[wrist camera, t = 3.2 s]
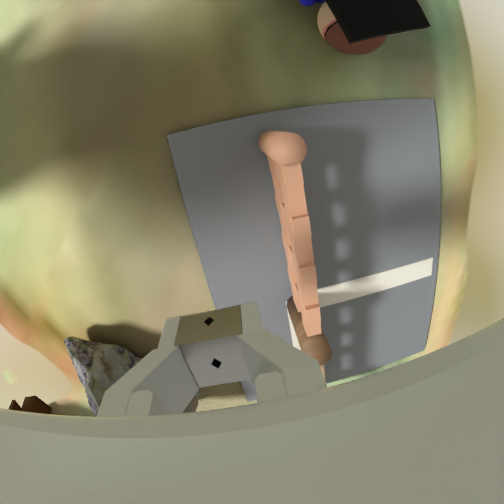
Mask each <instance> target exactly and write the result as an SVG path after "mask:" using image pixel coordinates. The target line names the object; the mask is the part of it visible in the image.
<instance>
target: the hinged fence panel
mask: <svg viewBox="0 0 504 504" xmlns="http://www.w3.org/2000/svg"><path fill="white" fill-rule="evenodd" d="M258 146H259V149H260V150H261V151H262V152H263V153H264V154H266V155H267V159H268V164H269V169H270V171H271V174H272V180H273V185H274V190H275V194H274V196H275V201H276V207H277V210H278V212H279V218H280V223H281V229H282V232H281V234H282V240H283V246H284V248H285V252H286V258H287V264H288V266H287V269H288V275H289V280H290V283H291V288H292V295H293V300H294V303H295V306H296V308H297V311H298V312H301V314H302V321H303V326H304V329H305V332H306V334H307V337H310V336H314V335H317V334H321V333H322V332H321V315H320V306H319V301H318V291H317V276H316V267H315V264H314V256H313V248H312V241H311V236H312V235H311V228H310V221H309V216H308V212H307V205H306V198H305V192H304V185H303V184H304V181H303V174H302V168H301V162H302V161H303V160H304V158H305V156H306V152H307V147H306V143H305V141H304V140H303V138H302V137H301V136H299V135H298V134H296V133H292V132H283V131H275V130H268V131H265V132H263V133H262V134H261V135H260V137H259V139H258Z"/></svg>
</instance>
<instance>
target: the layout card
mask: <svg viewBox="0 0 504 504" xmlns="http://www.w3.org/2000/svg"><path fill="white" fill-rule="evenodd" d="M268 130H275V131H283V132H292V133H296V134H298V135H299V136H301V137H302V138H303V140H304V141H305V143H306V147H307V152H306V156H305V158H304V160H303V161H302V162H301V168H302V174H303V181H304V184H303V185H304V192H305V198H306V205H307V212H308V216H309V221H310V228H311V235H312V236H311V241H312V248H313V256H314V264H315V267H316V276H317V291H318V301H319V306H320V315H321V328H322V330H323V333H324V335H325V337H326V339H327V342H328V344H329V346H330V348H331V350H332V357H331V359H330V360H329V361H328V362H327V363H326V364H324V372H325V382H326V383H330V382H333V381H337V380H340V379H344V378H347V377H350V376H354V375H357V374H360V373H363V372H366V371H369V370H372V369H375V368H378V367H381V366H384V365H387V364H389V363H392V362H395V361H398V360H400V359H403V358H405V357H408V356H411V355H413V354H416V353H418V352H421V351H423V350H425V345H426V340H427V335H428V330H429V325H430V319H431V313H432V307H433V300H434V293H435V285H436V276H437V267H438V255H439V241H440V220H441V175H440V154H439V140H438V129H437V119H436V111H435V104H434V99H384V100H365V101H352V102H340V103H330V104H321V105H313V106H305V107H298V108H291V109H284V110H278V111H272V112H266V113H260V114H255V115H250V116H244V117H239V118H235V119H230V120H225V121H221V122H216V123H212V124H208V125H204V126H200V127H196V128H192V129H188V130H184V131H180V132H176V133H173V134H169V135H167V138H168V143H169V147H170V151H171V155H172V159H173V163H174V167H175V170H176V174H177V178H178V182H179V186H180V189H181V193H182V197H183V201H184V204H185V208H186V212H187V215H188V219H189V222H190V226H191V229H192V233H193V236H194V240H195V243H196V247H197V250H198V253H199V257H200V260H201V263H202V267H203V270H204V273H205V277H206V280H207V283H208V286H209V289H210V293H211V296H212V299H213V302H214V305H215V308H216V310H218V309H223V308H227V307H231V306H236V305H241V304H244V303H248V302H252V301H257V304H258V308H259V312H260V317H261V321H262V325H263V330H268V331H269V332H271V333H272V334H274V335H276V336H277V337H279V338H281V339H282V340H284V341H286V342H287V343H289V344H291V345H292V346H294V347H296V348H297V349H299V350H301V348H300V345H299V342H298V339H297V336H296V333H295V330H294V327H293V324H292V321H291V318H290V315H289V312H288V309H287V300H288V299H289V298H290V297H291V296H292V288H291V283H290V280H289V275H288V269H287V266H288V264H287V258H286V252H285V248H284V246H283V240H282V234H281V232H282V229H281V223H280V218H279V212H278V210H277V207H276V201H275V196H274V194H275V190H274V185H273V180H272V174H271V171H270V169H269V164H268V159H267V155H266V154H264V153H263V152H262V151H261V150H260V149H259V146H258V139H259V137H260V135H261V134H262V133H263V132H265V131H268ZM240 382H241V385H242V387H243V390H244V393H245V396H246V398H247V401H253V400H257V393H256V385H255V384H254V383H253V382H252V381H251V380H245V381H240Z"/></svg>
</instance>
